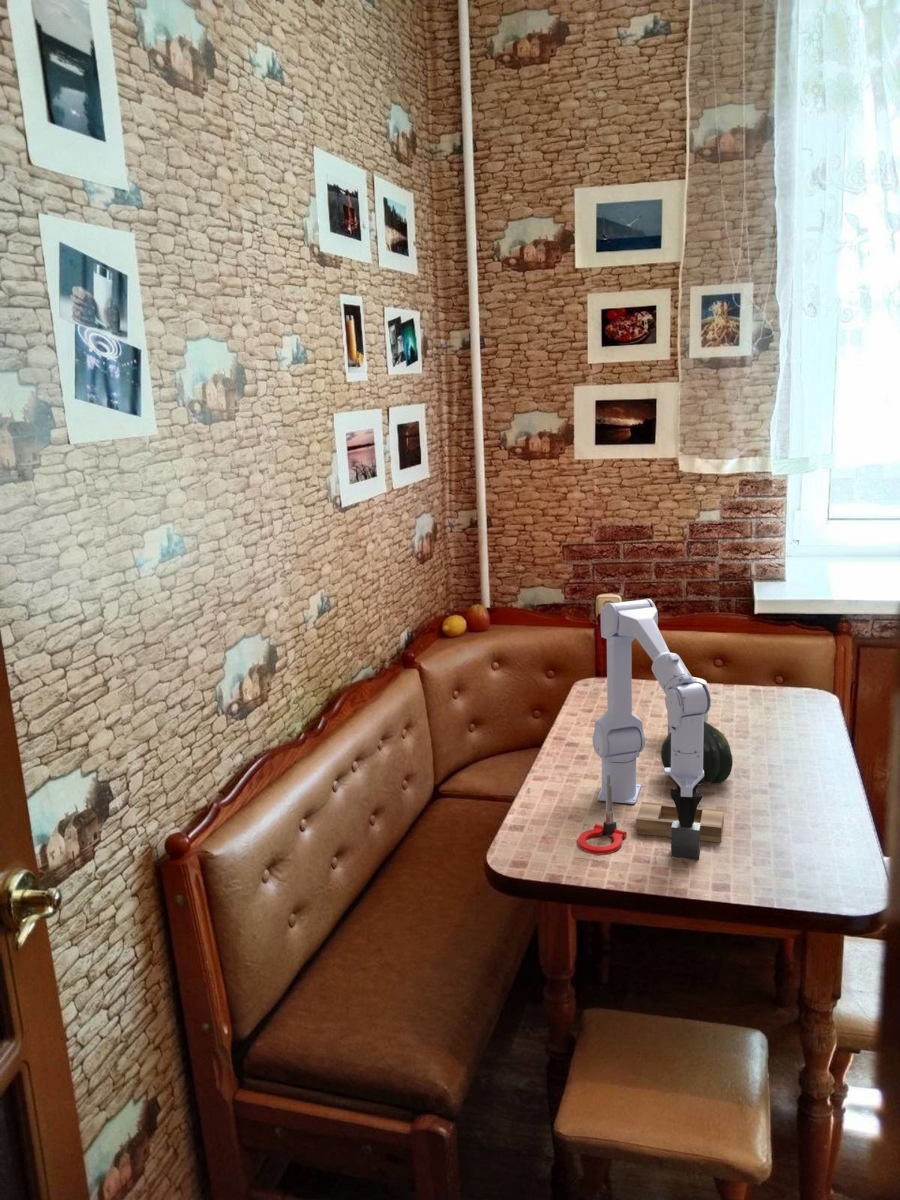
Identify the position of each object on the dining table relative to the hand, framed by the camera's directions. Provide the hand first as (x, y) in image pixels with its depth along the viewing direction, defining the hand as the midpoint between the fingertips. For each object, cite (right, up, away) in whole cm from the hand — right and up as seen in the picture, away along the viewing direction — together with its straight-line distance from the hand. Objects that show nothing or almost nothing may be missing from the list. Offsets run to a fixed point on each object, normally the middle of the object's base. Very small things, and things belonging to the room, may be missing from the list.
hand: (686, 817), depth 177 cm
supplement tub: (+14, +6, +58) cm, 60 cm away
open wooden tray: (+2, -5, +12) cm, 13 cm away
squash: (+11, 0, +34) cm, 36 cm away
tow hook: (-14, -7, +8) cm, 18 cm away
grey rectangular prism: (0, -7, +2) cm, 8 cm away
